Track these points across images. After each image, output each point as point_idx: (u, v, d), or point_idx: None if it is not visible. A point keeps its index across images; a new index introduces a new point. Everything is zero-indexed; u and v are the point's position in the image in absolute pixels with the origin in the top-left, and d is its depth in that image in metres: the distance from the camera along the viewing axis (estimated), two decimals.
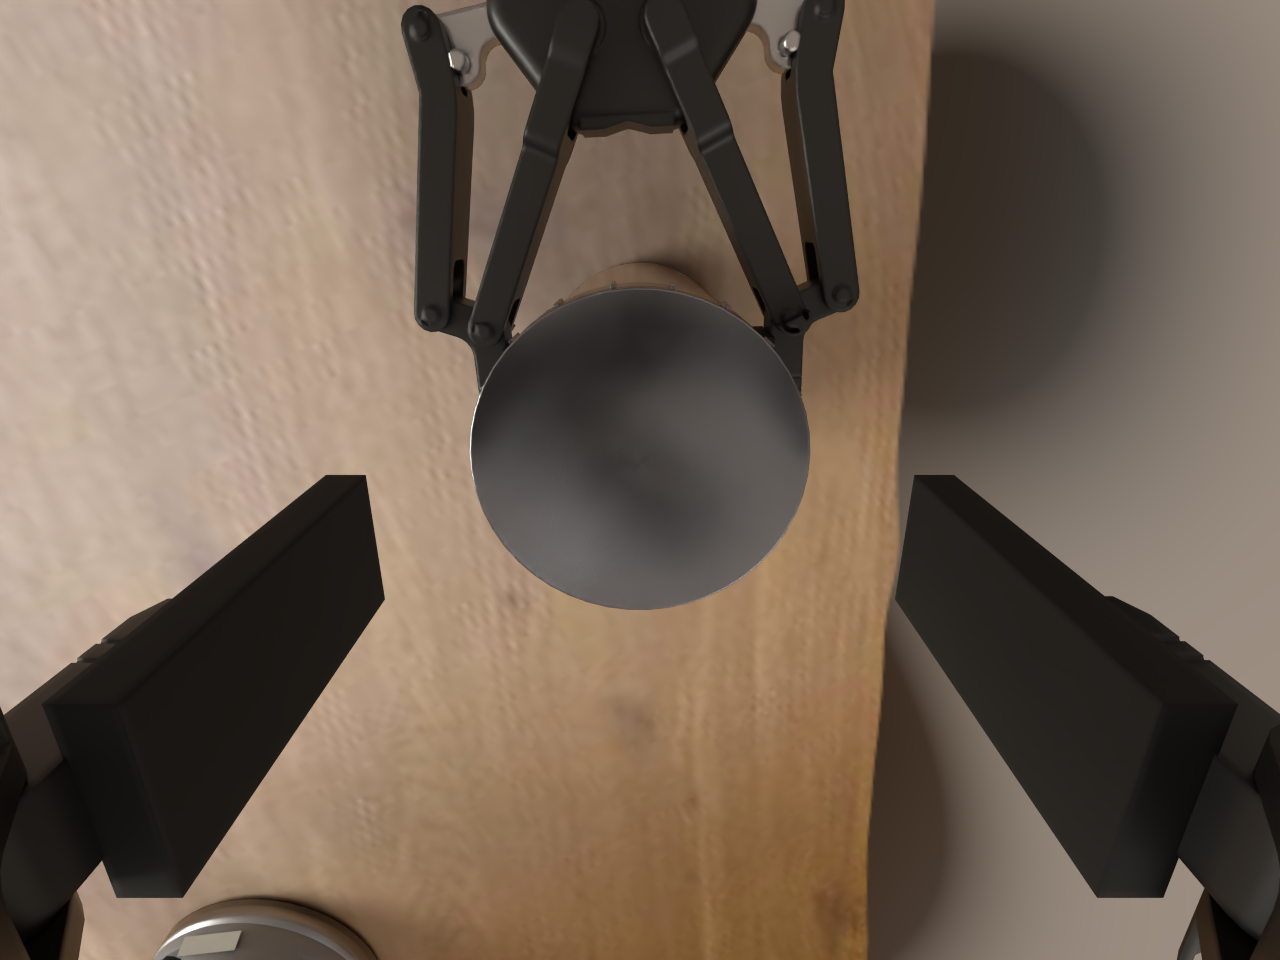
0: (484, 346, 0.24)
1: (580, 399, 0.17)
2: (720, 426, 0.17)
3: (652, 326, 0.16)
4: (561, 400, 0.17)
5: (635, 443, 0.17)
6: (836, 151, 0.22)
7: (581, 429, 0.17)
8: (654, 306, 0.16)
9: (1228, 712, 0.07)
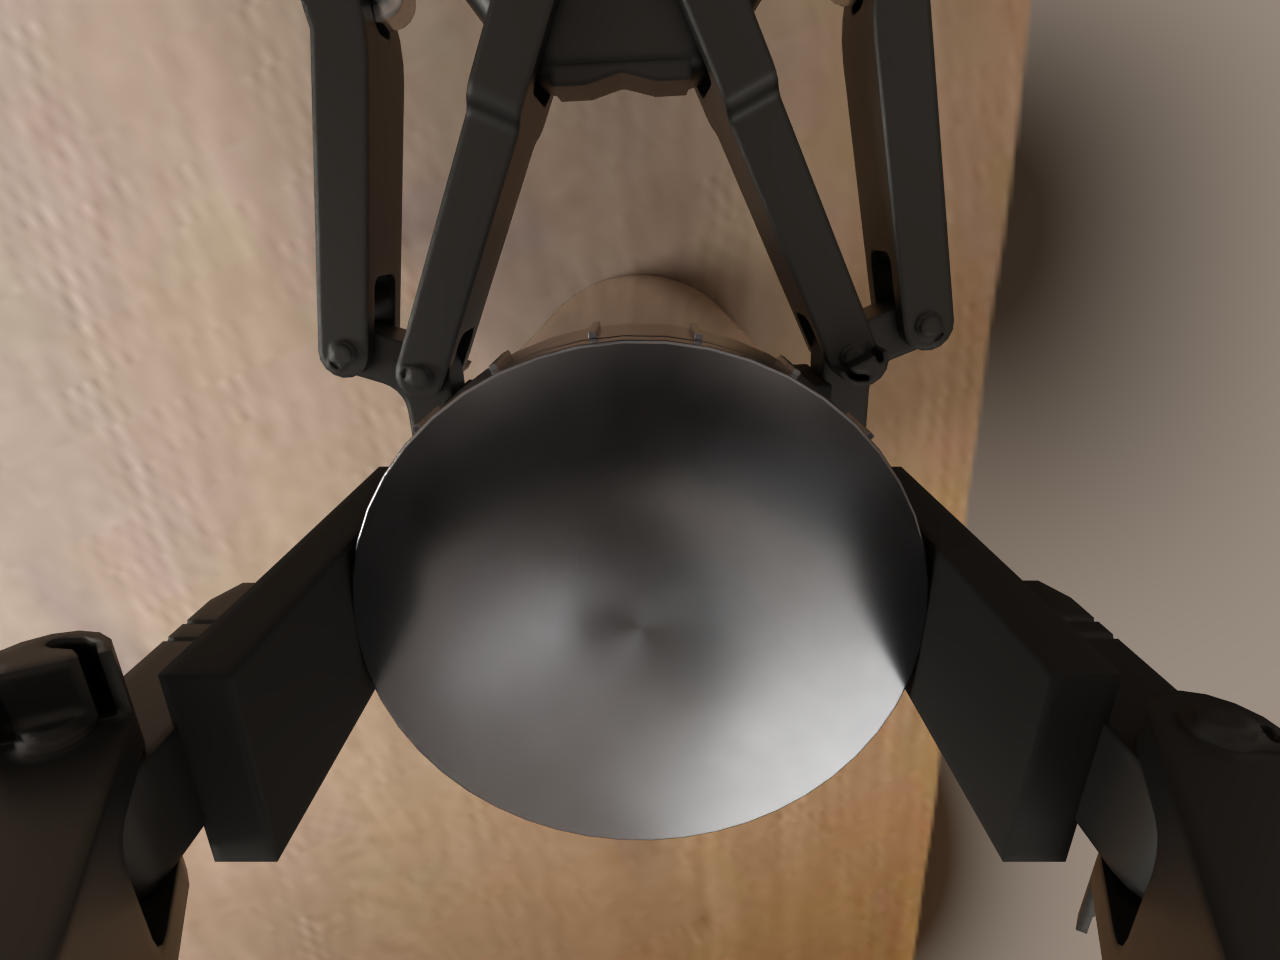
0: (420, 397, 0.17)
1: (537, 528, 0.10)
2: (777, 571, 0.10)
3: (662, 406, 0.09)
4: (504, 529, 0.10)
5: (632, 597, 0.10)
6: (929, 117, 0.15)
7: (539, 574, 0.10)
8: (666, 373, 0.09)
9: (1112, 682, 0.07)
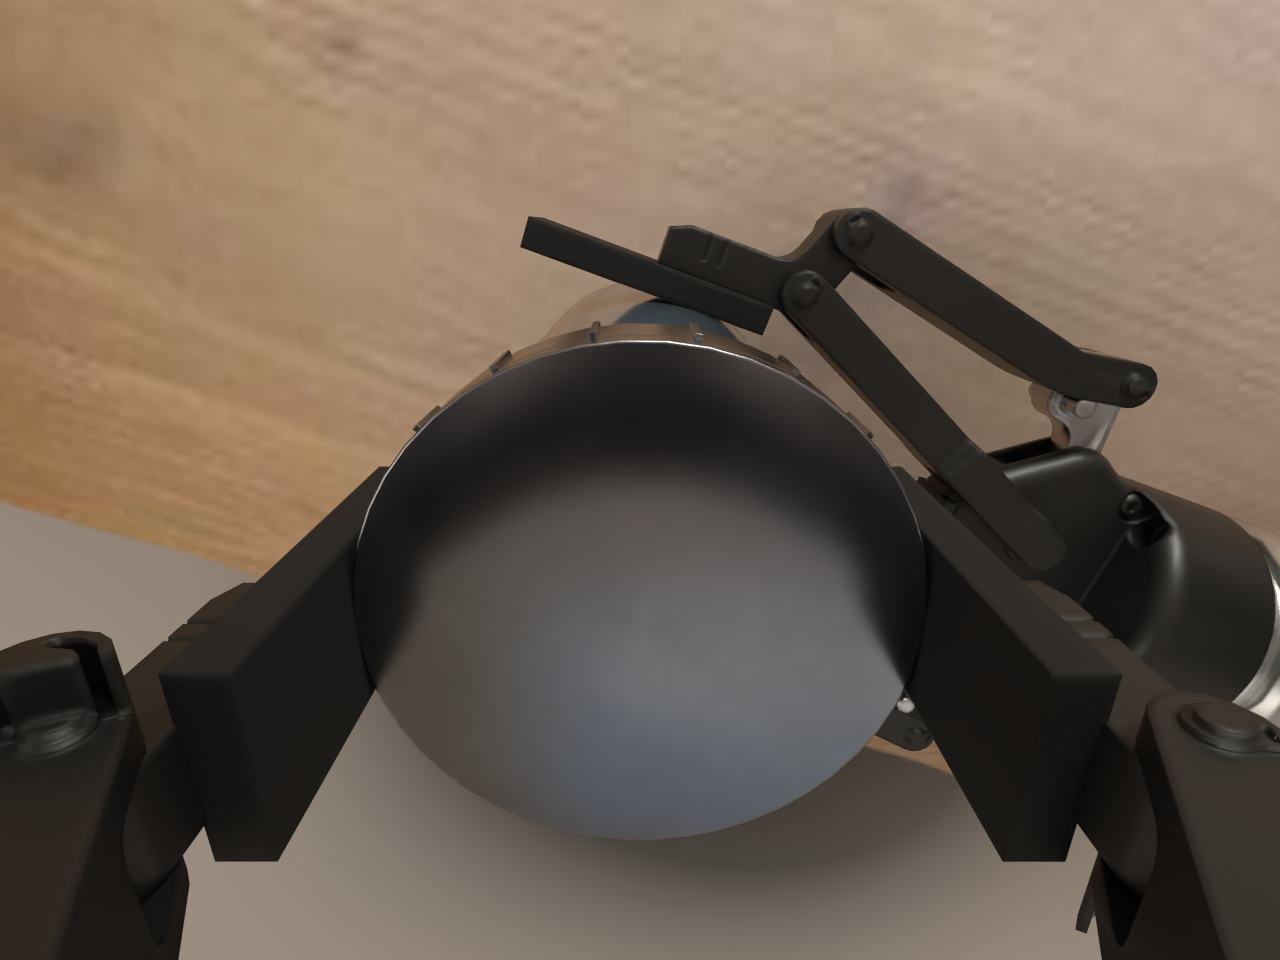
0: (787, 285, 0.17)
1: (537, 527, 0.10)
2: (777, 570, 0.10)
3: (662, 406, 0.09)
4: (505, 529, 0.10)
5: (632, 597, 0.10)
6: None
7: (539, 574, 0.10)
8: (666, 372, 0.09)
9: (1112, 682, 0.07)
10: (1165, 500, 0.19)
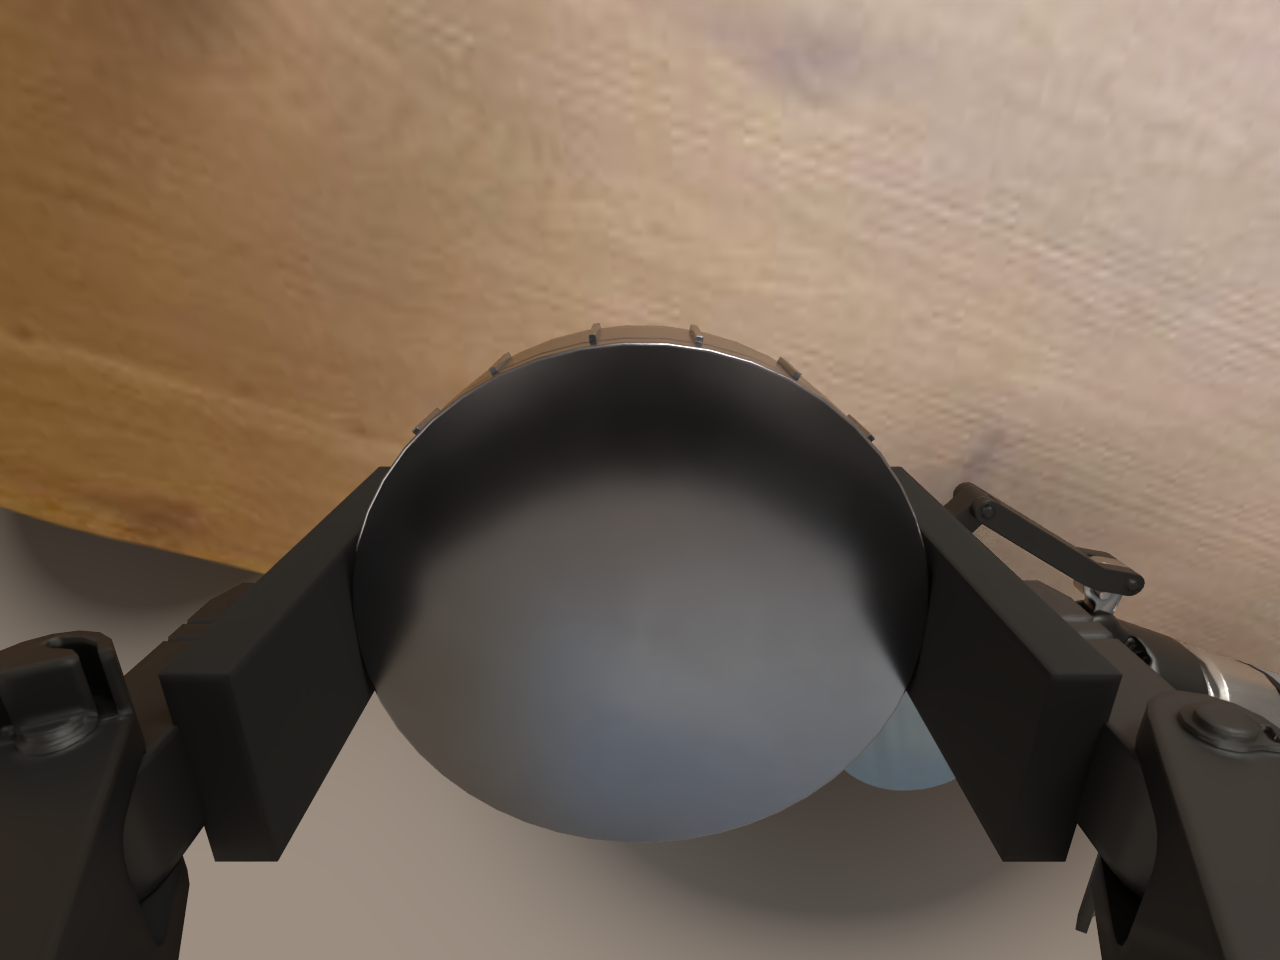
0: None
1: (537, 530, 0.10)
2: (778, 573, 0.10)
3: (663, 409, 0.09)
4: (504, 532, 0.10)
5: (632, 600, 0.10)
6: None
7: (539, 577, 0.10)
8: (666, 375, 0.09)
9: (1113, 682, 0.07)
10: (1149, 641, 0.34)
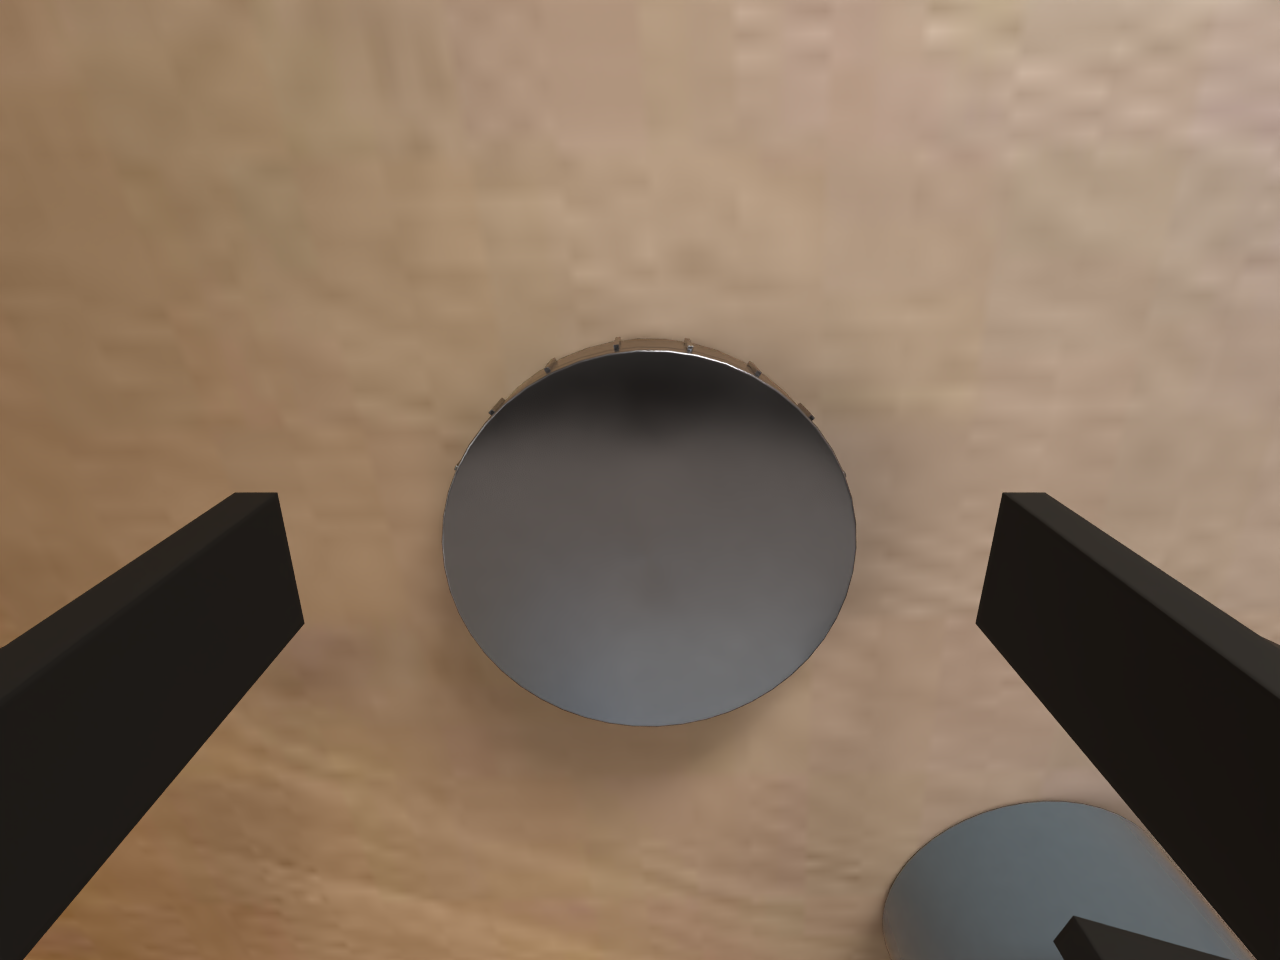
0: None
1: (576, 482, 0.14)
2: (747, 514, 0.14)
3: (665, 395, 0.13)
4: (553, 483, 0.14)
5: (643, 534, 0.14)
6: None
7: (576, 517, 0.14)
8: (667, 372, 0.13)
9: None
10: None
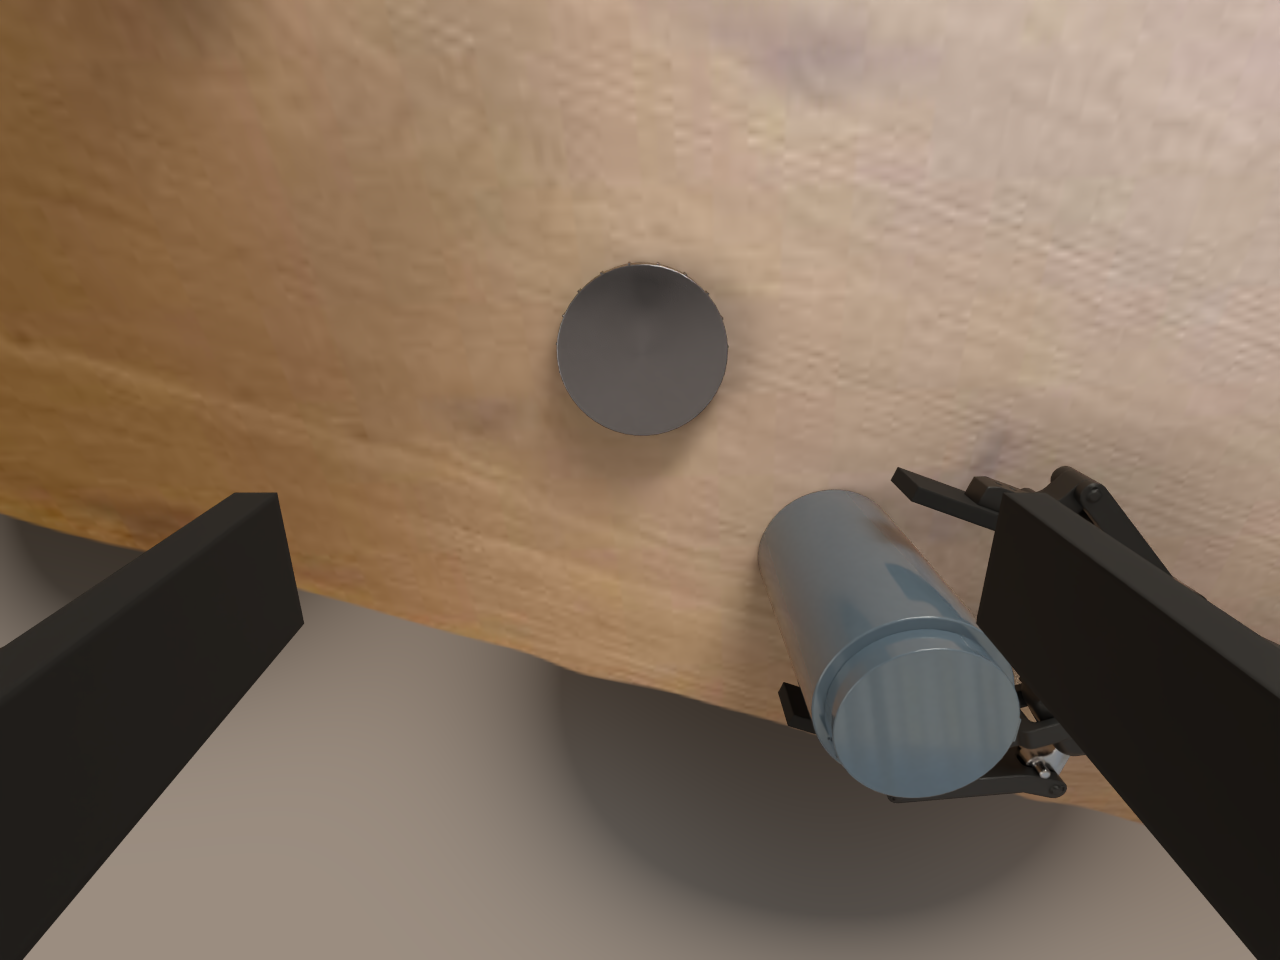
0: None
1: (612, 320, 0.34)
2: (682, 334, 0.34)
3: (648, 283, 0.33)
4: (603, 320, 0.34)
5: (640, 343, 0.34)
6: (981, 793, 0.37)
7: (612, 335, 0.34)
8: (649, 273, 0.33)
9: None
10: None
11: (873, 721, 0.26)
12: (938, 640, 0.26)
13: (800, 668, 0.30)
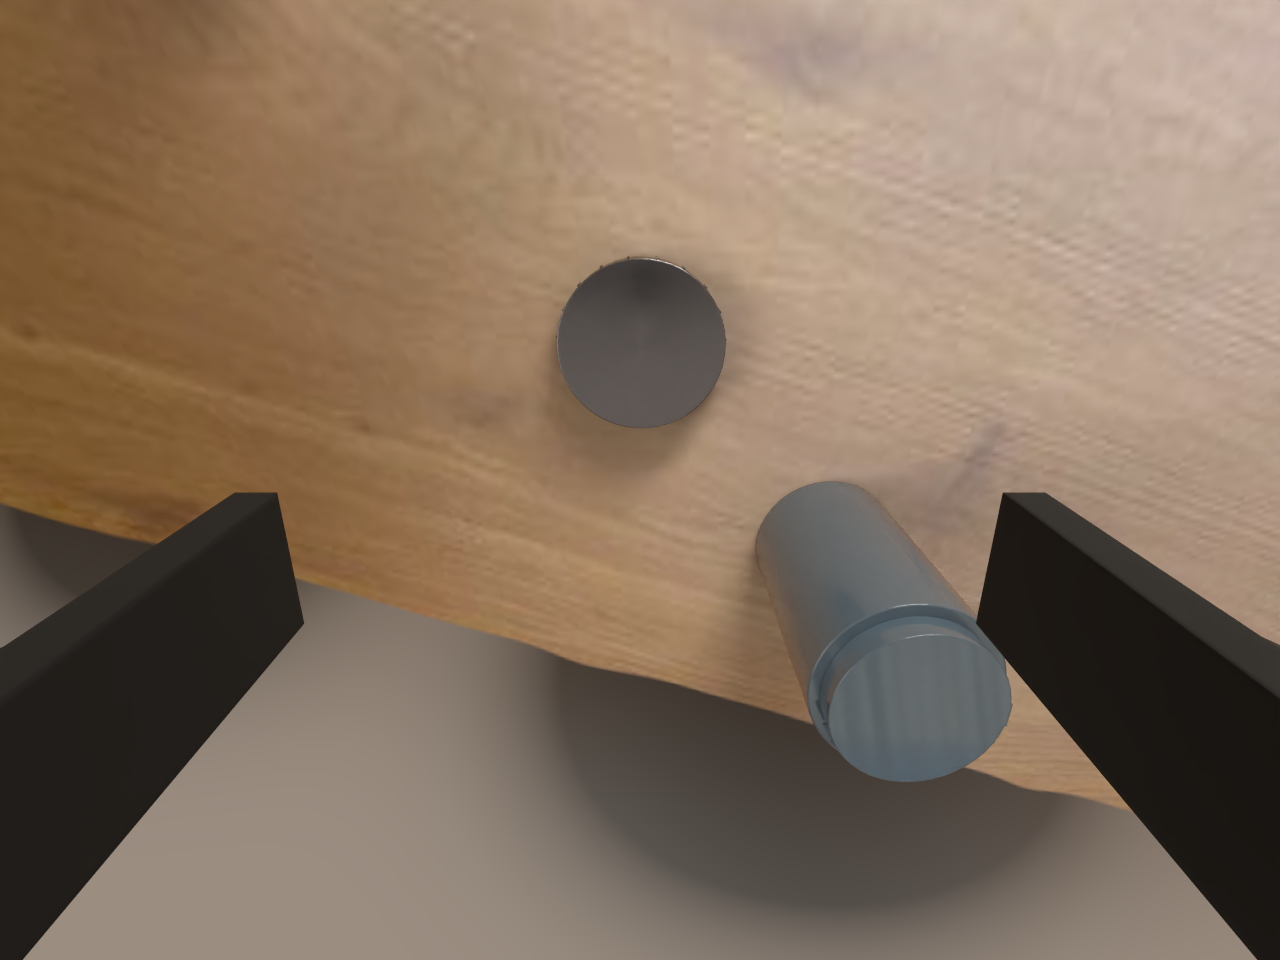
0: None
1: (612, 313, 0.34)
2: (680, 327, 0.35)
3: (647, 277, 0.34)
4: (602, 314, 0.34)
5: (639, 336, 0.35)
6: None
7: (612, 329, 0.35)
8: (648, 267, 0.34)
9: None
10: None
11: (867, 706, 0.27)
12: (931, 626, 0.26)
13: (796, 655, 0.30)
